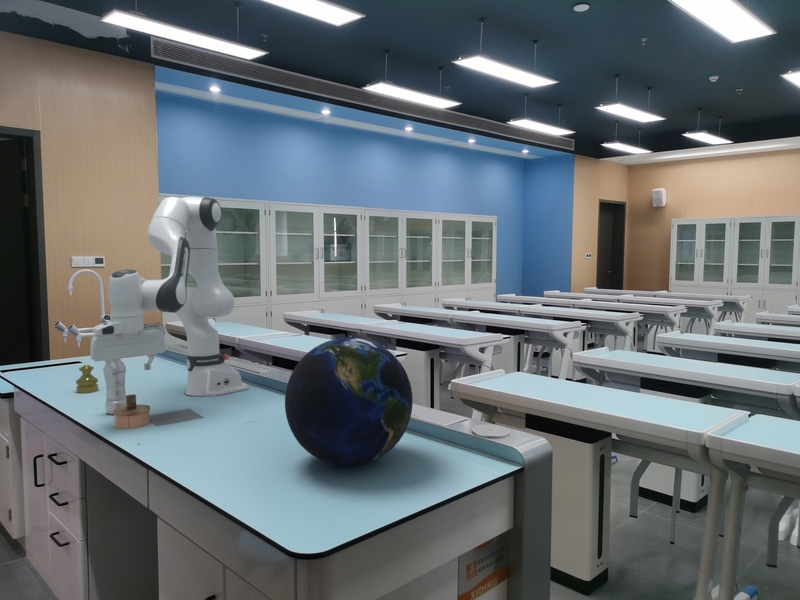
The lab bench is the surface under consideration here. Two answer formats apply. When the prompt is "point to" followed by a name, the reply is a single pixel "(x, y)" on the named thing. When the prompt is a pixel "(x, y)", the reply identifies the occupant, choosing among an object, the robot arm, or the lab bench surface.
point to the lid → (131, 407)
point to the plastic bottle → (115, 386)
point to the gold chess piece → (86, 380)
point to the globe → (348, 401)
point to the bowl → (131, 421)
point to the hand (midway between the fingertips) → (130, 372)
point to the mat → (174, 417)
